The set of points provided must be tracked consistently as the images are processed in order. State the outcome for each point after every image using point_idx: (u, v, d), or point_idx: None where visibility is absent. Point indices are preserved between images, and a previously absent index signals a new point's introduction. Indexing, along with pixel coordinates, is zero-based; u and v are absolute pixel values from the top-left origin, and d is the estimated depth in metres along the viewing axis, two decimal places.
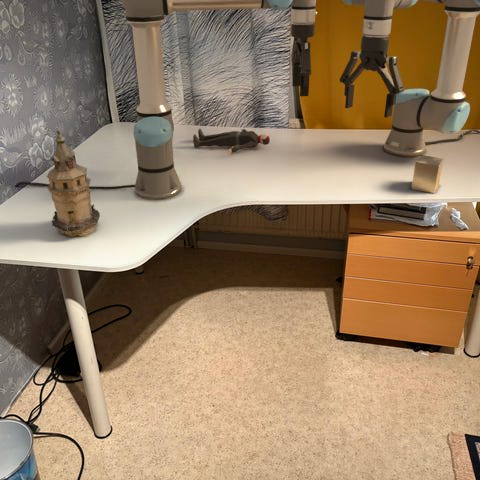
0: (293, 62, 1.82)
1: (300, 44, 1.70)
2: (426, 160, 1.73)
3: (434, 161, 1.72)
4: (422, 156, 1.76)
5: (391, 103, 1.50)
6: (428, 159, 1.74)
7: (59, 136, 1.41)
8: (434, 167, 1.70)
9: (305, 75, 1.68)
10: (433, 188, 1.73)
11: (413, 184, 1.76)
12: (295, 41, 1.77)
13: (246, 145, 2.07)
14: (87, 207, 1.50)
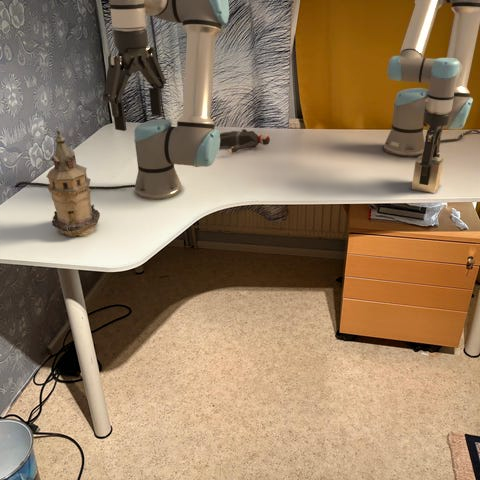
0: (118, 97, 1.20)
1: (144, 54, 1.24)
2: None
3: (434, 161, 1.72)
4: None
5: None
6: None
7: (59, 136, 1.41)
8: (434, 167, 1.70)
9: None
10: (433, 188, 1.73)
11: (413, 184, 1.76)
12: (121, 62, 1.18)
13: (246, 145, 2.07)
14: (87, 207, 1.50)
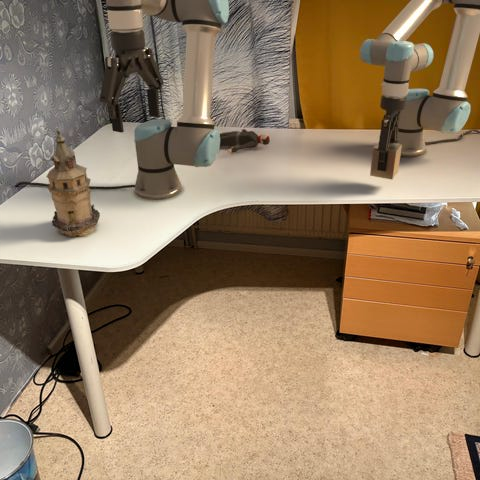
0: (115, 98, 1.19)
1: (141, 55, 1.23)
2: None
3: (391, 147, 1.70)
4: None
5: None
6: None
7: (59, 136, 1.41)
8: (392, 153, 1.68)
9: None
10: (391, 174, 1.71)
11: (371, 171, 1.73)
12: (118, 64, 1.17)
13: (246, 145, 2.07)
14: (87, 207, 1.50)
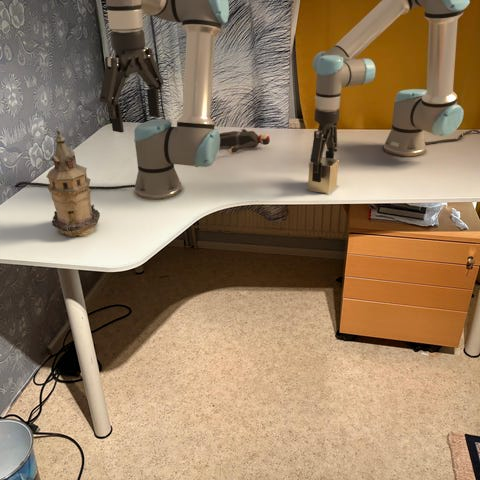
0: (115, 98, 1.19)
1: (141, 55, 1.23)
2: None
3: (327, 162, 1.72)
4: None
5: None
6: (323, 160, 1.74)
7: (59, 136, 1.41)
8: (326, 168, 1.70)
9: None
10: (327, 189, 1.74)
11: (309, 185, 1.76)
12: (118, 64, 1.17)
13: (246, 145, 2.07)
14: (87, 207, 1.50)
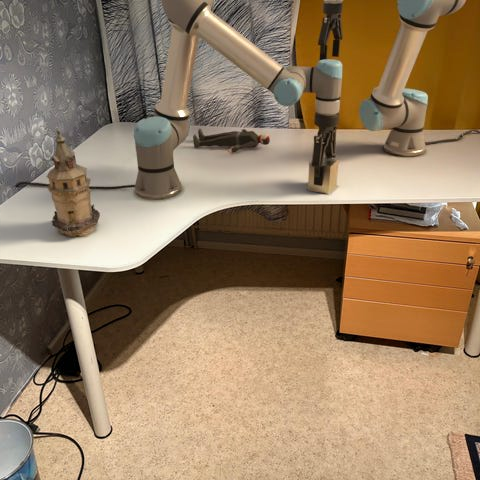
0: (321, 163, 1.69)
1: (332, 128, 1.71)
2: None
3: (327, 162, 1.72)
4: None
5: None
6: (323, 160, 1.74)
7: (59, 136, 1.41)
8: (326, 168, 1.70)
9: None
10: (327, 189, 1.74)
11: (309, 185, 1.76)
12: (323, 139, 1.65)
13: (246, 145, 2.07)
14: (87, 207, 1.50)
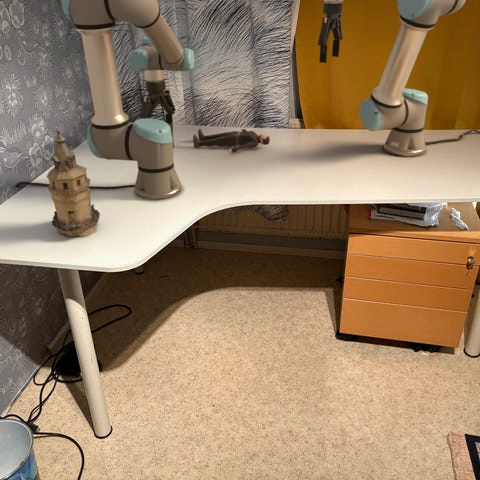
0: None
1: (163, 94, 2.07)
2: None
3: None
4: None
5: None
6: None
7: (59, 136, 1.41)
8: None
9: None
10: None
11: None
12: (150, 100, 2.01)
13: (246, 145, 2.07)
14: (87, 207, 1.50)
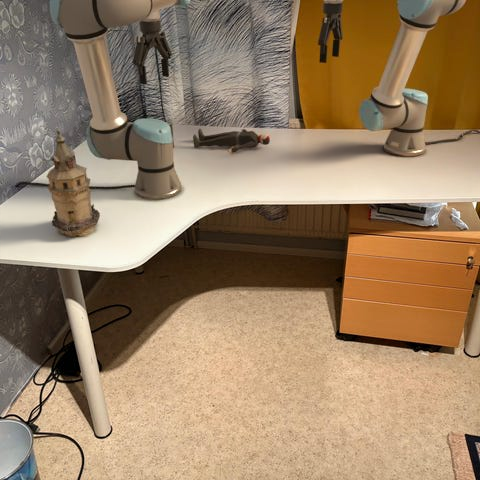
0: (142, 62, 1.92)
1: (158, 36, 1.96)
2: None
3: None
4: None
5: None
6: None
7: (59, 136, 1.41)
8: None
9: None
10: None
11: None
12: (144, 40, 1.90)
13: (246, 145, 2.07)
14: (87, 207, 1.50)
